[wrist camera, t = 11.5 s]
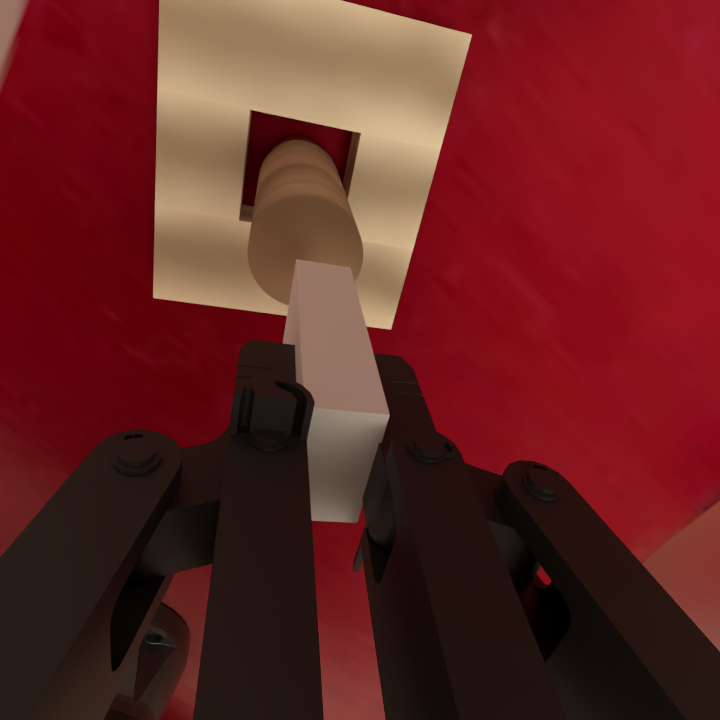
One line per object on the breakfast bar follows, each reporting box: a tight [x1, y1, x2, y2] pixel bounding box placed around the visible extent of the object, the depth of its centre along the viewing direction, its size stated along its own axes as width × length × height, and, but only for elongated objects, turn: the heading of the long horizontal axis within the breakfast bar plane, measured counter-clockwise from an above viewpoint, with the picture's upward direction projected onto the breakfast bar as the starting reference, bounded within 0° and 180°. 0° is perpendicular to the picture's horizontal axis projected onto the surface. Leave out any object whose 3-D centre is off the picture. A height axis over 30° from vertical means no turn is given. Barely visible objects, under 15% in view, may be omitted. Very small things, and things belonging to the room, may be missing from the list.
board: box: [153, 0, 472, 330], centre depth 29 cm, size 16×14×3 cm
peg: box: [247, 135, 363, 305], centre depth 25 cm, size 4×4×14 cm
